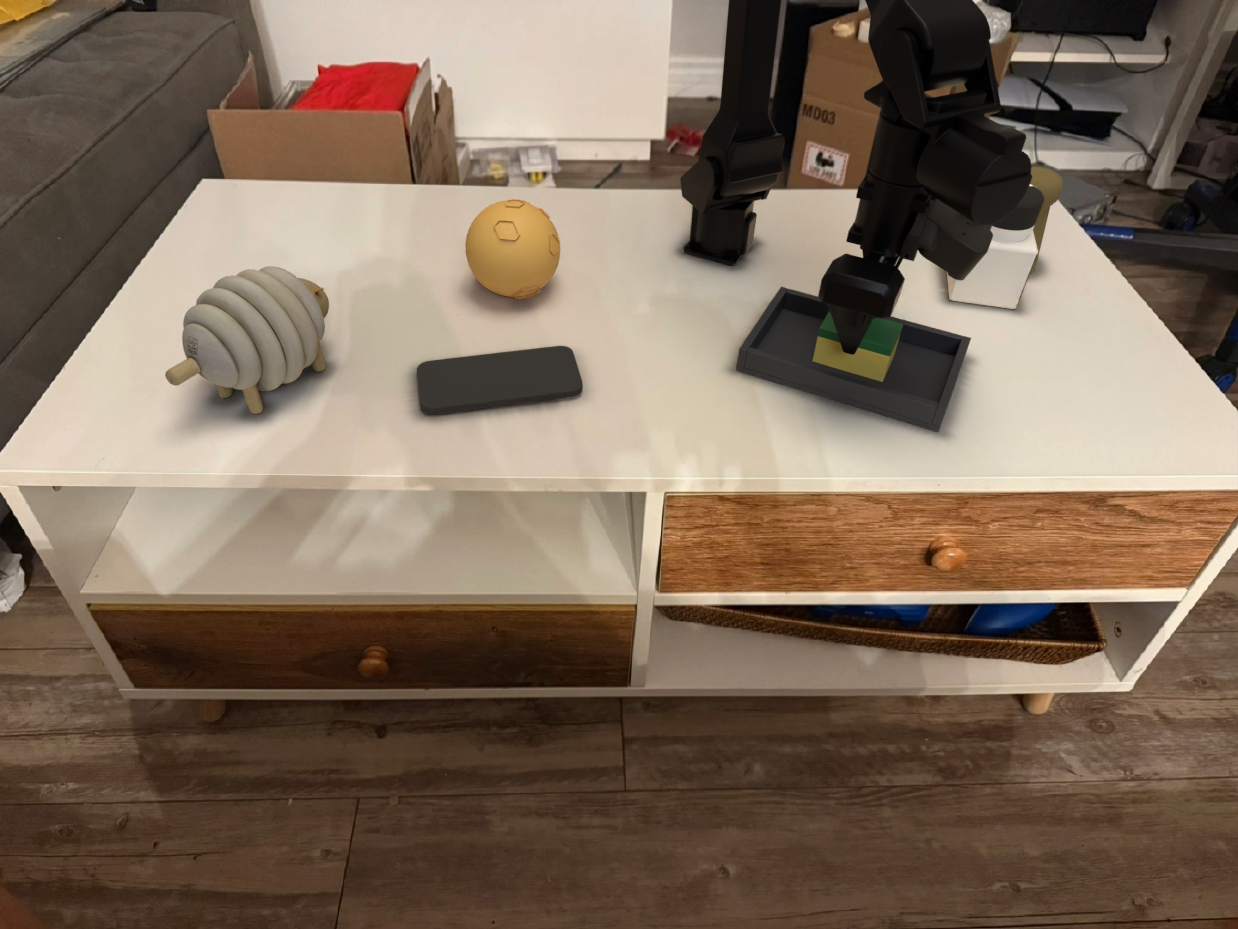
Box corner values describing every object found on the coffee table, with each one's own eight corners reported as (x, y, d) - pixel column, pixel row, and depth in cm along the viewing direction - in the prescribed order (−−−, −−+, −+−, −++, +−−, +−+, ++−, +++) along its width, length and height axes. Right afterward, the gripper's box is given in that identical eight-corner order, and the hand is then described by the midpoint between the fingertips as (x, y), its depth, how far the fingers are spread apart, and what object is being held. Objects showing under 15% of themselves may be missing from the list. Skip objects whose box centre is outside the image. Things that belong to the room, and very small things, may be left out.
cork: (1013, 245, 106) (1046, 156, 98) (1047, 271, 102) (1084, 180, 94) (971, 253, 104) (1001, 163, 97) (1003, 279, 100) (1037, 187, 93)
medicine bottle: (1016, 310, 96) (1057, 207, 87) (948, 301, 97) (982, 198, 88) (1009, 276, 101) (1047, 176, 92) (945, 268, 102) (977, 167, 93)
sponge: (811, 361, 87) (819, 327, 84) (824, 338, 90) (832, 304, 87) (882, 382, 85) (892, 348, 82) (893, 357, 88) (903, 323, 85)
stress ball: (474, 319, 92) (465, 231, 85) (466, 270, 99) (457, 185, 92) (569, 310, 93) (567, 223, 86) (554, 262, 100) (552, 178, 93)
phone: (415, 361, 85) (570, 343, 87) (417, 368, 85) (570, 350, 88) (420, 410, 79) (585, 389, 82) (421, 417, 80) (585, 396, 83)
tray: (735, 370, 86) (739, 348, 85) (777, 307, 95) (781, 286, 93) (938, 432, 80) (946, 410, 79) (963, 359, 89) (971, 337, 87)
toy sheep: (372, 356, 87) (352, 254, 79) (242, 457, 76) (204, 351, 68) (290, 324, 90) (263, 224, 82) (155, 417, 79) (109, 312, 71)
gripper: (982, 244, 65) (926, 408, 76) (1018, 149, 78) (965, 302, 88) (834, 209, 69) (801, 371, 79) (891, 124, 81) (855, 273, 92)
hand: (861, 327), depth 84 cm, fingers open, 9 cm apart
